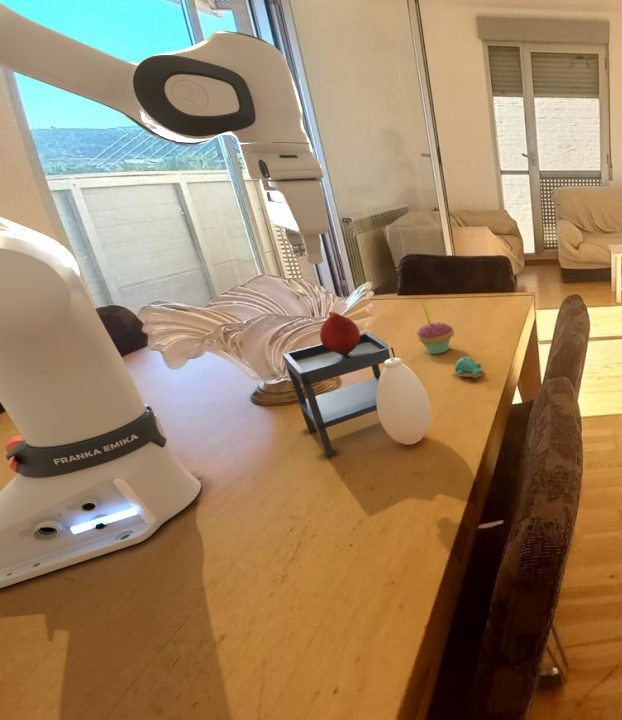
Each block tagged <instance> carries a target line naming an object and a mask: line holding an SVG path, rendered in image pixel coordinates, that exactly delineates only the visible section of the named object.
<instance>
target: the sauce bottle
mask: <svg viewBox="0 0 622 720" xmlns="http://www.w3.org/2000/svg"><path fill="white" fill-rule="evenodd" d="M390 346H391V345H390V344H388V349H389V355H390V359H388V360H386V361H385V362H384V363H383V365H384V367H383V369H382V371H380V373H381V375H380V378H379V381H378V386H377V394H376V404H377V410H376V411H377V415H378V419H379V421H380V423H381V426H382V427H383V430H384V431H385V432H386V434H388V436H389V437H390V438H391V439H392V440H394V441H395V442H397V443H400V444H403V445H414V444H416V443H418V442H420V441H421V440H422V439H423V437H425V436H426V435H427V433H428V432H429V429H430V426H431V420H432V408H431V403H430V398H429V395H428V394H427V392H426V389H425V388H424V385H423V384H422V382H421V381H420V379H419V377H418V376H417V374H415V373H414V371H413V370H411V368H410V367H409V366H407V365H406V364H404V363H403V360H402V358H400V357H395V358H394V357H393V354H392V350H391V347H392V346H391V347H390Z"/></svg>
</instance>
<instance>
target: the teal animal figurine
mask: <svg viewBox="0 0 622 720" xmlns="http://www.w3.org/2000/svg"><path fill="white" fill-rule="evenodd" d="M481 368H482V365H481V364H480V363H477V362H476V361H475V360H474V359H473V358H471V357H469V356H464V357H461V358H459V359H458V360H457V361H456V363H455V365H454V370H455V374H456V375H457V376H459V377H462V378H463V377H465V378H475V379H476V378H478V377H481V376H483V375H484V374H485V371H484V370H482V369H481Z"/></svg>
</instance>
